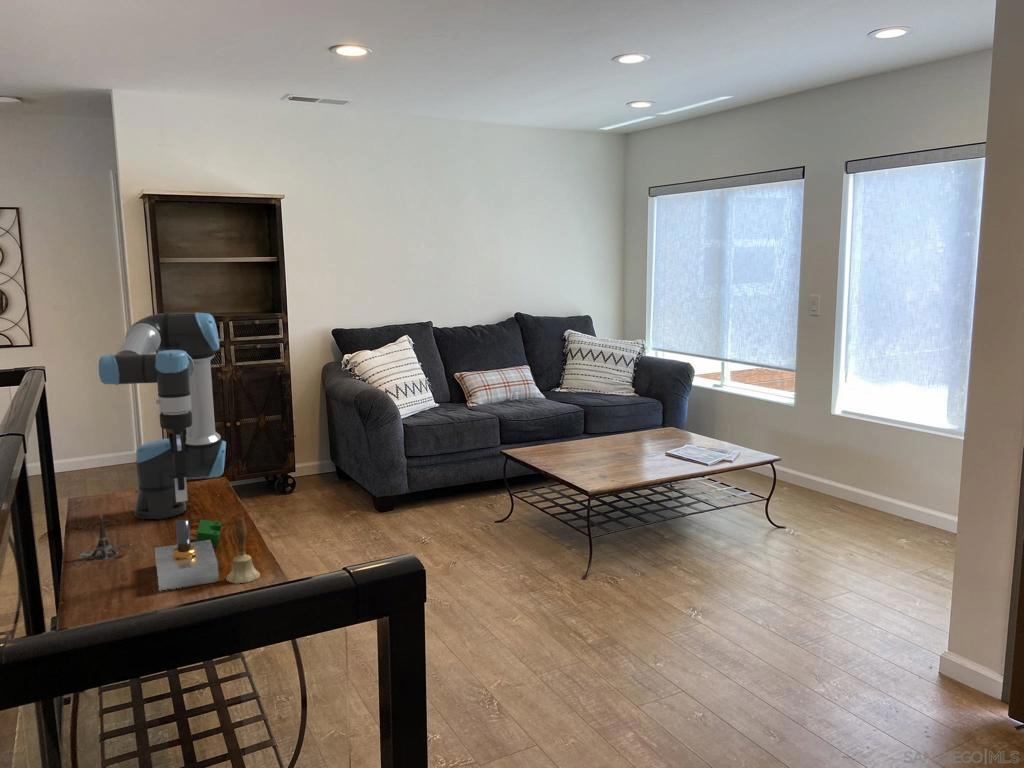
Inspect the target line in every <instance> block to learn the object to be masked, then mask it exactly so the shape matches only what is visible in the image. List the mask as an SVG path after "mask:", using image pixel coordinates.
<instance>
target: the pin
mask: <svg viewBox="0 0 1024 768" xmlns="http://www.w3.org/2000/svg"><path fill="white" fill-rule="evenodd" d="M190 528H191V527H190V519H189V518H179V519H176V520H175V532H176V545H177V548H176V549H174V550H173V558H174V559H178V560H179V559H188V558H192V557H194V556H195V555H196V548H195V547H194V546H191V532H190Z"/></svg>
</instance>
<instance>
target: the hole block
mask: <svg viewBox="0 0 1024 768" xmlns="http://www.w3.org/2000/svg"><path fill="white" fill-rule="evenodd" d="M190 543H191V546H194V547H195V548H196V555H195V556H194V557H192V558H188V559H179V560H178V559H174V558H173V550H174V549H176V548H177V544H170V545H166V546H158V547H154V552H155V553H154V555H155V565H156V576H157V577H158V578H157V585H158V586H159V587H158V592H159V591H160V592H162V591H161V590H166V591H168V590H167V589H171V590H176V588H177V589H183V588H188V587H189V588H190V587H194V586H200V585H206V584H210V583H212V584H213V583H217V581H218V582H220V580H219V579H220V578H219V576H220V575H219V565H218V564H219V563H218V560H217V556H216V553H215V550H214V547H213V546H212V543H211V540H204V541H197V542H196V541H192V542H191V541H190ZM182 587H183V588H182Z"/></svg>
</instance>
